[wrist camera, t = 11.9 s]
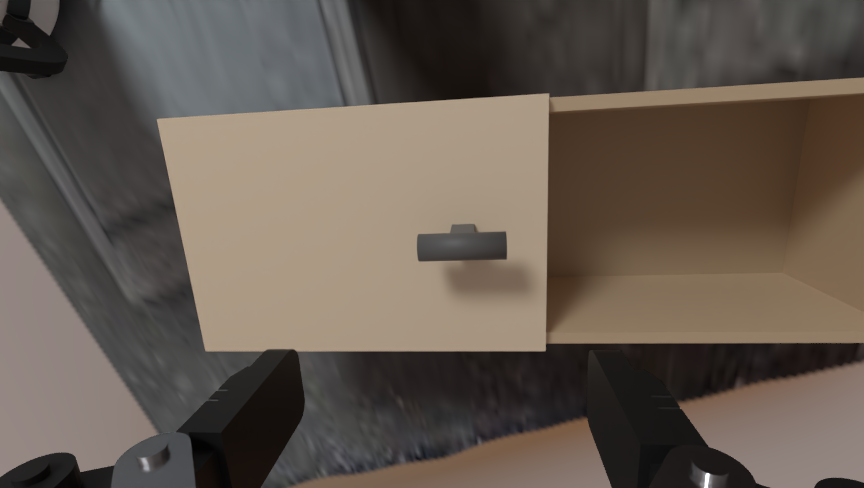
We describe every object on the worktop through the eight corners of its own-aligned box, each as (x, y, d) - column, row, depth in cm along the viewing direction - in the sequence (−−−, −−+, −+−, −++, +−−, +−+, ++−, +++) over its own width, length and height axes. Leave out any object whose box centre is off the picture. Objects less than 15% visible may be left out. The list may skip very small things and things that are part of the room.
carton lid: (547, 94, 26) (560, 88, 21) (544, 346, 30) (554, 381, 26) (163, 119, 28) (110, 118, 24) (210, 347, 32) (172, 378, 28)
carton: (815, 88, 35) (983, 70, 23) (784, 278, 39) (914, 342, 27) (510, 107, 37) (524, 99, 26) (511, 282, 41) (524, 343, 30)
